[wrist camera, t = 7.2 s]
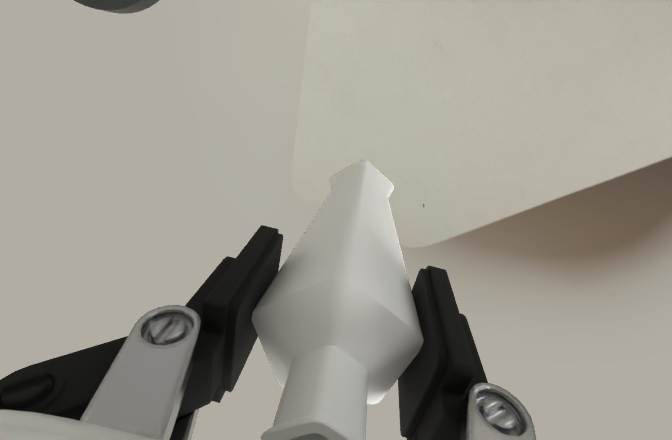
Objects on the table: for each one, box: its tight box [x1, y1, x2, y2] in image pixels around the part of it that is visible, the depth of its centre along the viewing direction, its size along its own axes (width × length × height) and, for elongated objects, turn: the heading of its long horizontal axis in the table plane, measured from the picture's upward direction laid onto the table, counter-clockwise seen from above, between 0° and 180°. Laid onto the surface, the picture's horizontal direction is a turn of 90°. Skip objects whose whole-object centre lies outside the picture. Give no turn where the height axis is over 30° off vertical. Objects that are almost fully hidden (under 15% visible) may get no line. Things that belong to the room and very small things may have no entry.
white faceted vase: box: [252, 159, 424, 440], centre depth 13 cm, size 5×4×15 cm
